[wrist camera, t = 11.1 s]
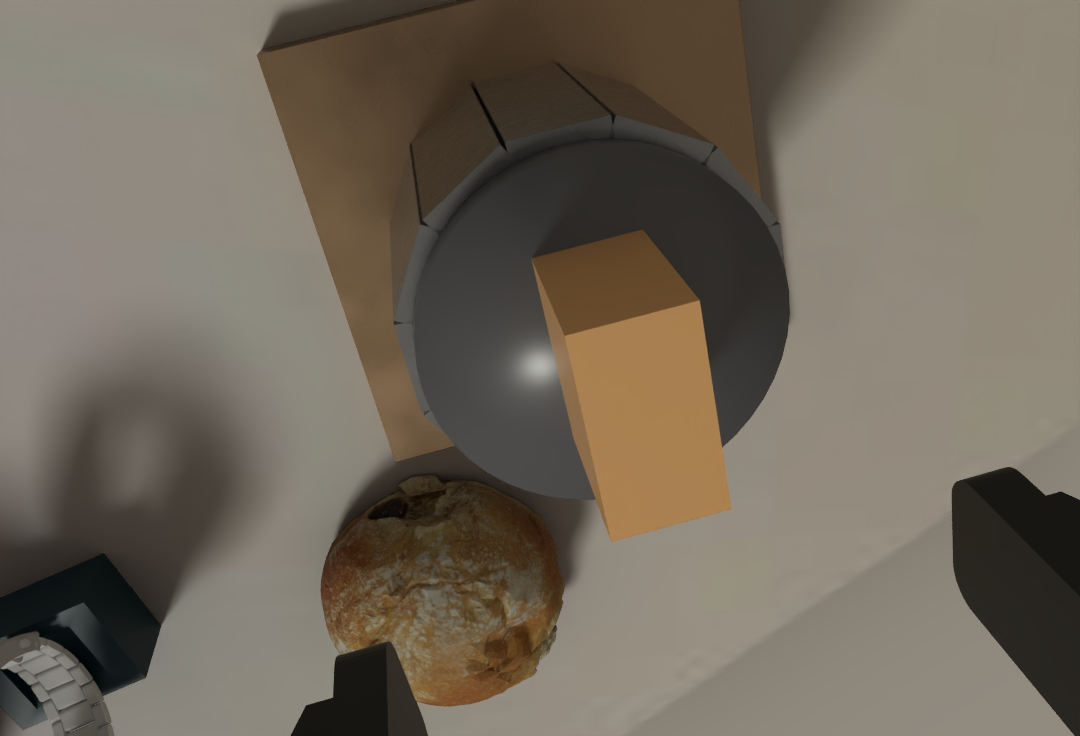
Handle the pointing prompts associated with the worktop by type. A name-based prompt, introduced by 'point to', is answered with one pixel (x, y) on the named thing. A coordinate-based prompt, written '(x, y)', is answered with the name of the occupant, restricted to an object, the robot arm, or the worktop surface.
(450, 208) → the gray cylinder on base
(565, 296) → the cap
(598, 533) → the worktop surface
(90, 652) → the watch
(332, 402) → the worktop surface
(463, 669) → the bread roll
